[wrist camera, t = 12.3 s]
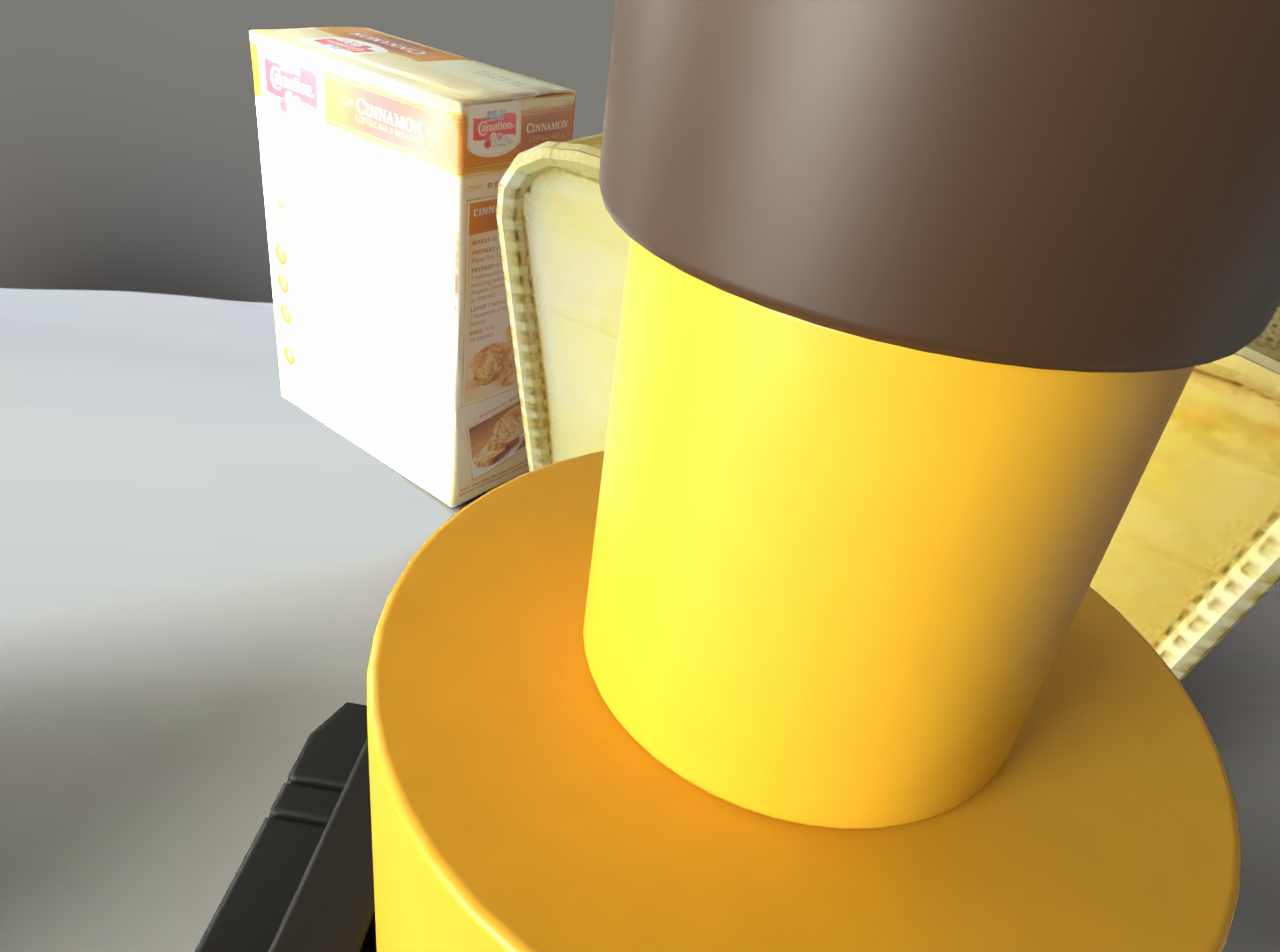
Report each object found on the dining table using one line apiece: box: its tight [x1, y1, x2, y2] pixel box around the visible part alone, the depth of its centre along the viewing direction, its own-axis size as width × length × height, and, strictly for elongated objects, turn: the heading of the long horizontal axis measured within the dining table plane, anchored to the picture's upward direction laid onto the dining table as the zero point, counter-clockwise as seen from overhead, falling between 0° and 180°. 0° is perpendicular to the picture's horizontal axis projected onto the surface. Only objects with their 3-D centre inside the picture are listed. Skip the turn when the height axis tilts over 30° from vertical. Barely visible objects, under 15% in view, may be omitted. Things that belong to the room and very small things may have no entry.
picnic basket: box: [496, 133, 1280, 681], centre depth 38 cm, size 29×26×30 cm
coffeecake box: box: [249, 27, 576, 508], centre depth 48 cm, size 15×7×20 cm, turn 50°
